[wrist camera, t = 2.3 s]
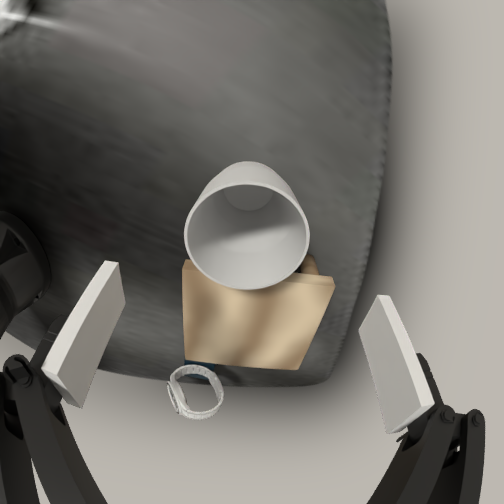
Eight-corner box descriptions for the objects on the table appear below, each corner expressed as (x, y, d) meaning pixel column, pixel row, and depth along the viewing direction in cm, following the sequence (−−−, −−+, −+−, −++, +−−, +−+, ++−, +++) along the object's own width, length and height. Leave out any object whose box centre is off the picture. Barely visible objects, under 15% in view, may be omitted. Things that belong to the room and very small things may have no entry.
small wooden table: (192, 324, 37) (185, 359, 32) (194, 235, 29) (182, 269, 24) (293, 334, 38) (297, 369, 33) (322, 251, 30) (335, 286, 25)
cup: (197, 157, 25) (167, 197, 16) (283, 139, 24) (300, 170, 15) (219, 231, 29) (205, 296, 21) (296, 217, 28) (314, 279, 20)
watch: (175, 337, 39) (159, 402, 30) (229, 346, 40) (224, 413, 30) (175, 358, 42) (162, 417, 33) (224, 366, 43) (219, 427, 33)
